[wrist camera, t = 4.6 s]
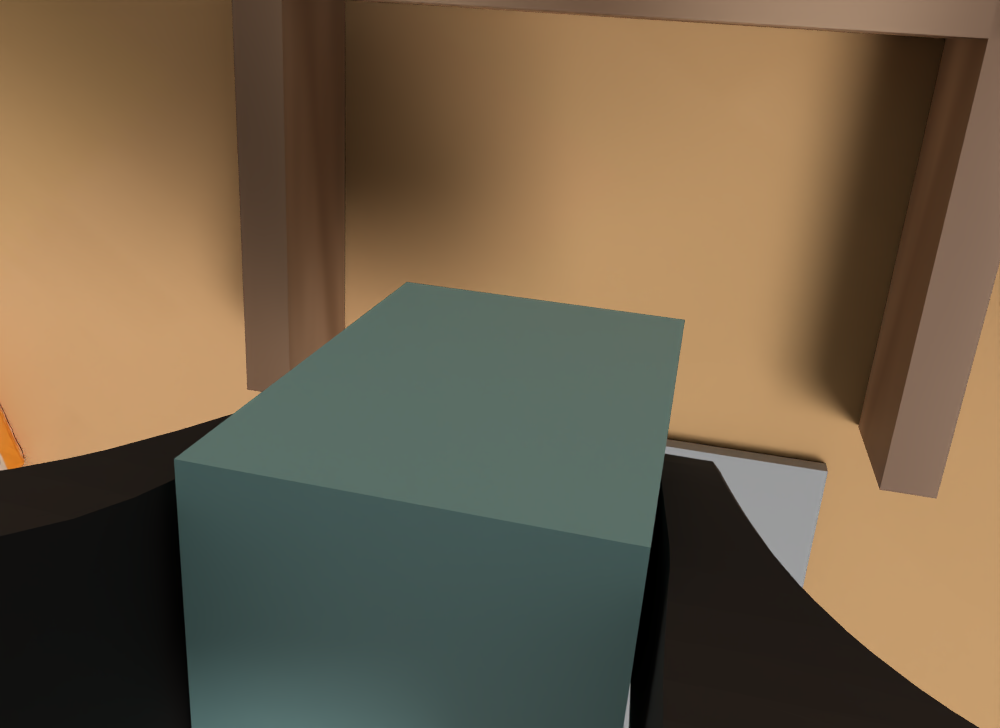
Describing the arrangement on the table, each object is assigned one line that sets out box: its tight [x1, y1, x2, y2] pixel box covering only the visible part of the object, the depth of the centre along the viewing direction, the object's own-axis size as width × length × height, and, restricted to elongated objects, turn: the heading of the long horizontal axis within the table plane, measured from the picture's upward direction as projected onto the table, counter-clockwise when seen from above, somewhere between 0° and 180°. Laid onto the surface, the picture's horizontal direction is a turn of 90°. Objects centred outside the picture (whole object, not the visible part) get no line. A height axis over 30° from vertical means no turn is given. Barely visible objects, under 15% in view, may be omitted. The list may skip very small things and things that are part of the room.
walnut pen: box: [232, 0, 1000, 498], centre depth 18 cm, size 14×9×3 cm, turn 86°
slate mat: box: [623, 439, 828, 728], centre depth 23 cm, size 11×9×1 cm
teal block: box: [174, 282, 685, 728], centre depth 11 cm, size 4×4×6 cm
